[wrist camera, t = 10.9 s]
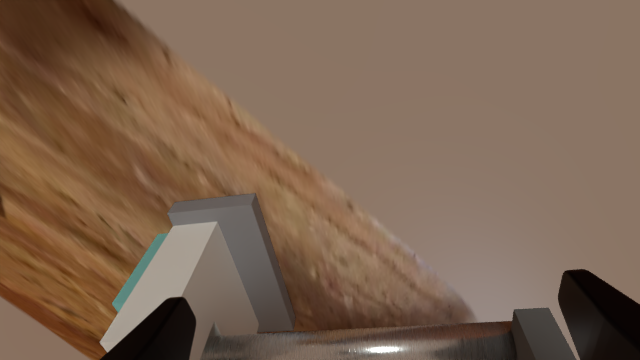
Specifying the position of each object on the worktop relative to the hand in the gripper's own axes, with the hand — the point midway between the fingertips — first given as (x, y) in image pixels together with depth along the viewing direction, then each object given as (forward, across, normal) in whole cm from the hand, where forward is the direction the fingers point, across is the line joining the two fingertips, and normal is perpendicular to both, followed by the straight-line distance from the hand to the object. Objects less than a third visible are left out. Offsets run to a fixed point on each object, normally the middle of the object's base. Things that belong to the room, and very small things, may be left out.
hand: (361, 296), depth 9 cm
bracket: (+13, +10, +11) cm, 20 cm away
